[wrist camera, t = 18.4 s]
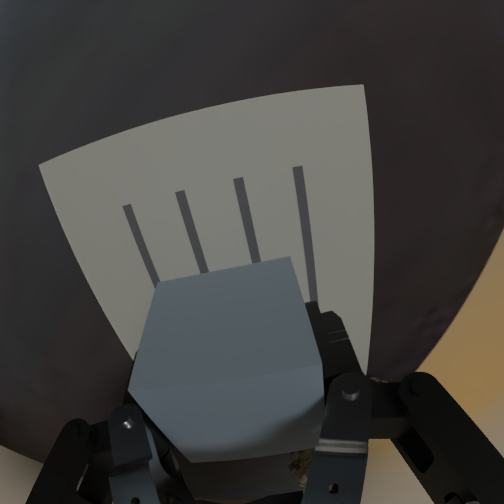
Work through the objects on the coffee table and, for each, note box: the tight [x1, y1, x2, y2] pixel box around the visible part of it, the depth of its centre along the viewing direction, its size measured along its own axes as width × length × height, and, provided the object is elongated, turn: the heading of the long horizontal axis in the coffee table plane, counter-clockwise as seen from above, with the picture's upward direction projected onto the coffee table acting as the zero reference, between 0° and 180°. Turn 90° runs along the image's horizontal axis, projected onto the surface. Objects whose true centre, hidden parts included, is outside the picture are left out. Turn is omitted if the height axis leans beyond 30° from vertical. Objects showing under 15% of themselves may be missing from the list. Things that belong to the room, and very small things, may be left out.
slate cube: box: [128, 256, 325, 463], centre depth 11 cm, size 5×5×5 cm
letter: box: [39, 85, 374, 375], centre depth 16 cm, size 14×18×1 cm
